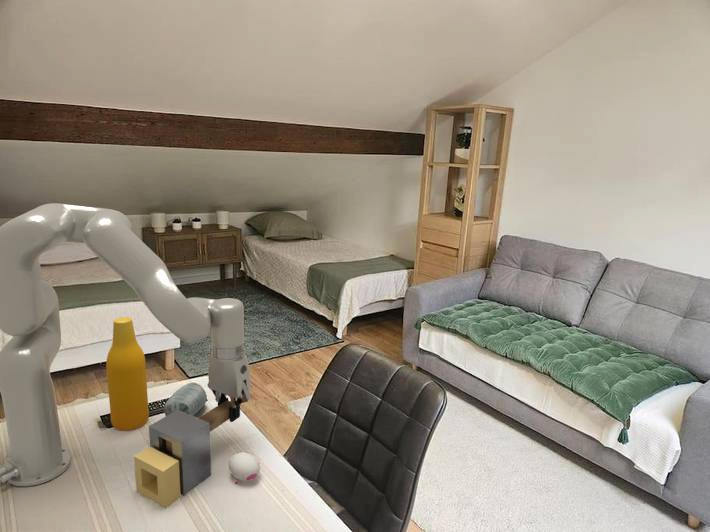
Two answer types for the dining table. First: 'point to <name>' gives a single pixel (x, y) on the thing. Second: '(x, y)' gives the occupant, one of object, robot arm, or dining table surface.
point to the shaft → (212, 418)
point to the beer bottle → (126, 378)
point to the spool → (186, 399)
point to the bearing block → (184, 446)
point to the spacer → (157, 476)
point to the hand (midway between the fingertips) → (229, 416)
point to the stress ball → (244, 466)
